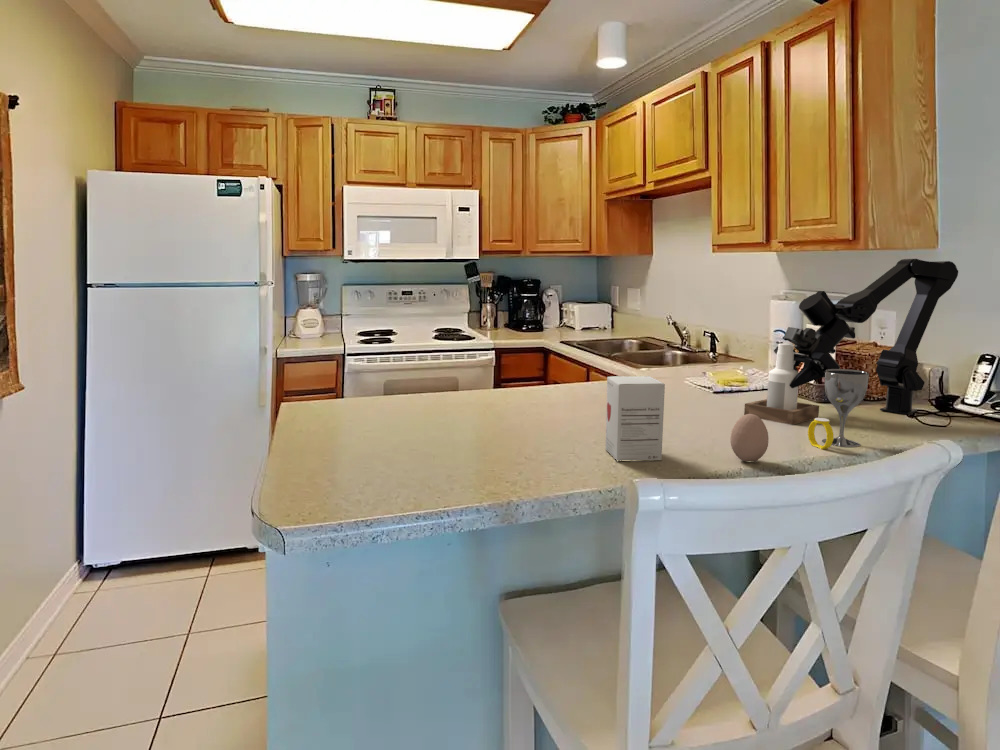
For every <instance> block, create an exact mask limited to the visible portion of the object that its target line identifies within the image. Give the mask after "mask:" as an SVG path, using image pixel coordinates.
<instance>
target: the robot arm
mask: <svg viewBox="0 0 1000 750" xmlns="http://www.w3.org/2000/svg"><path fill="white" fill-rule="evenodd" d="M958 276H959V270H958V268H957V266H956V264H955V262H953V261H950V260H942V261H939V260H938V261H935V260H934V261H929V260H928V261H927V260H922V259H918V258H903V259H900V260H899V261H897V263H896V264H895V265H894V266H892V267H891V268H890V269H889V270H888V271H886V272H885V273H884V274H882V275H881V276H879V277H878V278H877V279H875V281H873V282H872V283H870V284H869V285H867V287H865V288H864V289H862V290H860V291H857V292H854V293H852V294H850V295H848V296H845V297H843V298H842V299H839V300H838V301H837V302H836V303H834V302H833V301H832V300H831V298H830V297H829V296H828V293H826V291H825V290H818V291H816V292H815V293H813V294H811V295H809V296H808V297H806V298H804V299H803V300H801V302H800V303H799V306H798V309H799V310H800V311H801V312H802V314H803V315H804V316H805V317H806V319H808V321H809V322H810V324H812V325H813V326H815V327H816V326H817V327H818V326H819V328H817V330H815V329H813V328H811V327H805V328H804V329H803V328H802V329H801V328H798V327H793V326H792V327H789V326H788V327H787V330H786V331H785V334H784V335H783V338H782V340H784V341H788V342H789V343H790V344H793V346H794V347H793V351H794V352H793V353H794V361H793V362H794V366H793V369H794V370H796V371H797V372H798V374H797V375H796V377H795V378H794V379H793V380H792V382H791V383H790V387H791V388H795V387H798V388H799V387H800V386H803V385H804V384H808V383H810V382H813V381H816V380H819V379H822V378H824V379H825V370H828V369H841V367H840V364H839V363H838V362H837V361H836V359H835V358H834V357H833V356H832V355H834V354H835V353H836V352H837V350H836V349H835V347H837V345H838V344H839V343H840V342H841V341H842V340H843V339H845V338H846V339H853V340H854V339H856V332H855V331H856V330H855V329H856V328H855V327H854V326H853V327H852V326H850V325H849V324H848V323H852V324H853V323H854V324H855V323H856V324H863V323H865V322H867V320H869V319H870V318H871V316H873V315H874V313H875V312H876V311H877V308H878V305H879V304H880V303H881V302H882V301H883V300H885V299H887V298H888V296H890V295H891V294H892V293H894V292H896V291H897V290H898V289H899V288H900V287H902V286H903V285H904V284H905V283H907V282H908V281H910V279H914V287H915V292H916V293H915V295H914V298H913V300H912V303H911V305H910V307H909V310H908V313H907V314H906V317H905V320H904V322H903V325H902V326H901V329H900V331H899V334H898V336H897V339H896V341H895V343H894V345H893V346H892V347H891V348H890V349H882V350H881V352H880V354H879V358H878V360H877V361H876V363H875V365H877V366H876V370H875V372H876V374H877V376H878V380H879V383H880V386H883V387H884V386H885V387H887V391H886V392H887V393H886V401H885V402H886V403H885V407H880V408H879V410H880V411H882V412H889V413H894V414H902V415H910V414H914V413H916V412H918V409H916V408H913V402H914V401H913V400H914V392H917V391H922V390H923V388H924V385H925V383H926V382H925V381H924V379H923V377H921V375H920V374H919V373H918V372H917V368H918V365H919V359H918V355H917V350H918V348H919V346H920V343H921V341H922V339H923V337H924V334H925V331H926V329H927V327H928V324H929V322H930V320H931V317H932V315H933V313H934V311H935V309H936V306H937V304H938V302H939V299H940V298H941V297H943V296H944V295H945V294H946V293H947V292H949V291H950V289H952V287H953V285H954V283H955V282H956V280H957V278H958ZM796 351H797V352H796ZM777 352H778V345H777V346H776V347H775V349H773V353H774V354H775V355H776V356H777ZM801 364H803V367H802V368H800V369H801V370H799V371H798V368H797V367H799V366H800V365H801Z"/></svg>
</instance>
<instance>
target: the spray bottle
mask: <svg viewBox="0 0 1000 750" xmlns="http://www.w3.org/2000/svg"><path fill="white" fill-rule="evenodd" d="M777 346H778V352H777V355H776V361H775V367H774V368H772V369H770V371H768V380H767V381H768V383H767V384H768V385H767V397H766V399H767V407H773V408H778V409H784V410H790V411H791V410H795V409H797V402H798V395H799V393H798V392H799V386H798V387H795V388H791V387H790V383H791V382H792V380H793V379H794V378H795V377H796V375H797V374H798V373H799V371H798V370H797V371H796V370H794V369H793V366H794V362H793V361H794V353H793V352H794V351H793V349H794V346H795V345H794V344H793V343H778V345H777Z"/></svg>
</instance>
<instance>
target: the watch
mask: <svg viewBox="0 0 1000 750" xmlns="http://www.w3.org/2000/svg"><path fill="white" fill-rule="evenodd" d="M817 425H822V426H823V427H824V429H825V433H826V439H827V440H826V443H824V445H822V444H818V442H817V440H816V435H815V430H816V426H817ZM807 437H808V441H809V443H810V445H811V446H812V447H815V448H817V447H818V449H820V448H821V449H820V450H828V449H829V448H830V447H832V442H833V438H834V430H833V427H832V425H831V424H830V419H829V418H825V417H818V418H815V419H813V420H812V421H810V423H809V426H808V428H807Z"/></svg>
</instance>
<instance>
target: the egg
mask: <svg viewBox="0 0 1000 750" xmlns="http://www.w3.org/2000/svg"><path fill="white" fill-rule="evenodd" d="M769 439H770V438H769V432H768V429H767V427H766V424H765V423H764V420H763V419H760V418H759V417H758V416H756V415H754V414H746V415H744V414H743V415H742V416H740V417H739V418H738V420H736V422H735V424H734V425H733V427H732V429H731V433H730V447H731V449H732V452H733V453H734V455H735V456H736V457H737V458H738V459H739V460H740V461H743V462H745V461H754V462H756V461H759V460H760V459H762V457H763V456H764V455H765V454H766V451H768V447H769Z"/></svg>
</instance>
